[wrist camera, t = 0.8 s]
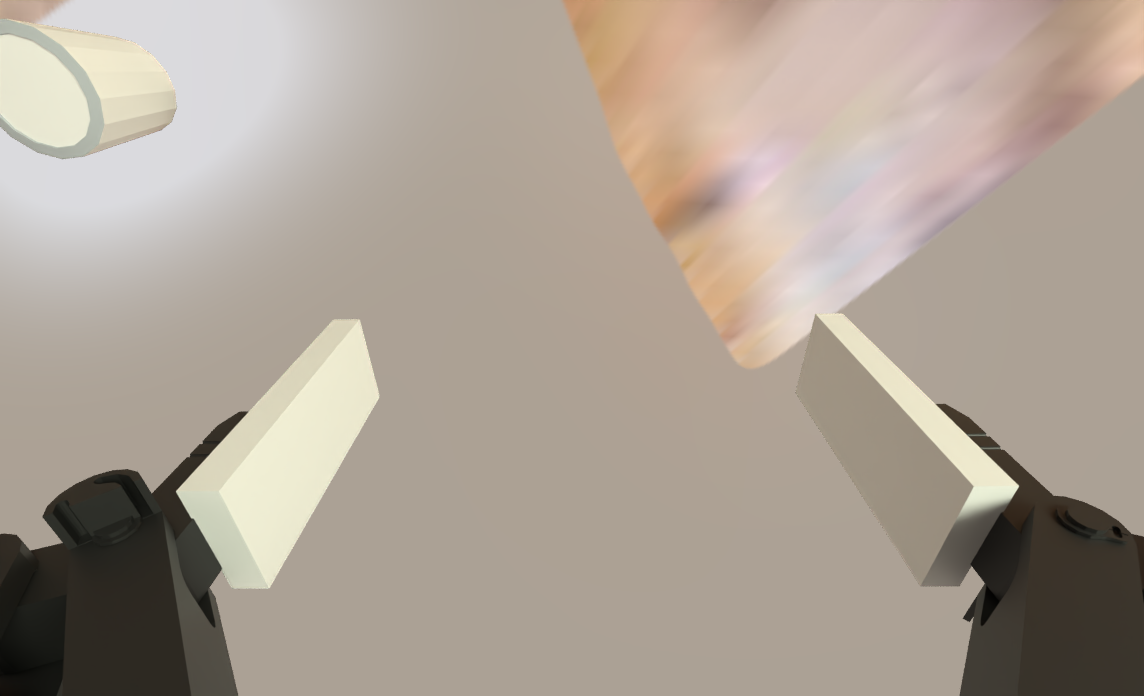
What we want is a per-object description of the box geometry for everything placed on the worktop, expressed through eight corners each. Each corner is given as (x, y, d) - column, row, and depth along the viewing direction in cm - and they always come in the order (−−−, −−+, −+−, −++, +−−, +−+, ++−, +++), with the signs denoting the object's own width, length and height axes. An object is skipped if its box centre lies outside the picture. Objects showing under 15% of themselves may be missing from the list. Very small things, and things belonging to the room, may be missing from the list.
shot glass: (73, 110, 34) (-35, 123, 28) (74, 2, 31) (-47, -11, 25) (181, 159, 36) (100, 180, 30) (192, 60, 33) (104, 62, 27)
